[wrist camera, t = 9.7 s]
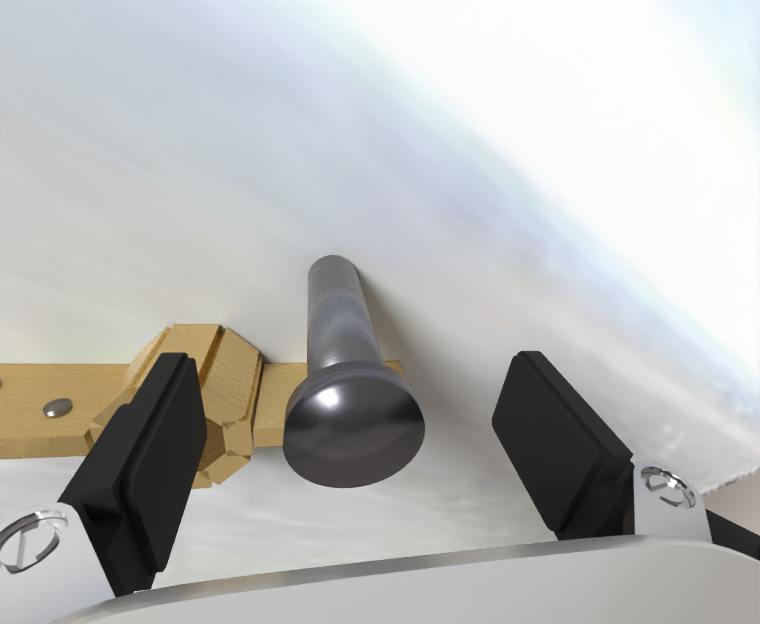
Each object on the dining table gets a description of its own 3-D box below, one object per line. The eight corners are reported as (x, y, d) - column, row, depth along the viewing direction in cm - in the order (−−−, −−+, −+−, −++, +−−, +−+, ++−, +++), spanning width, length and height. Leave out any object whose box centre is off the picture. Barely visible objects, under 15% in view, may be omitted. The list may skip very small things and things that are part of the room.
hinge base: (392, 407, 24) (410, 472, 20) (152, 418, 22) (113, 495, 17) (405, 324, 21) (429, 378, 17) (129, 324, 19) (74, 388, 14)
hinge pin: (365, 310, 21) (414, 482, 11) (296, 310, 20) (284, 493, 10) (371, 245, 19) (435, 382, 9) (295, 242, 18) (280, 387, 9)
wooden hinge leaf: (132, 362, 20) (83, 432, 15) (137, 384, 20) (91, 457, 16) (-25, 361, 18) (-130, 439, 14) (-14, 385, 19) (-110, 466, 15)
